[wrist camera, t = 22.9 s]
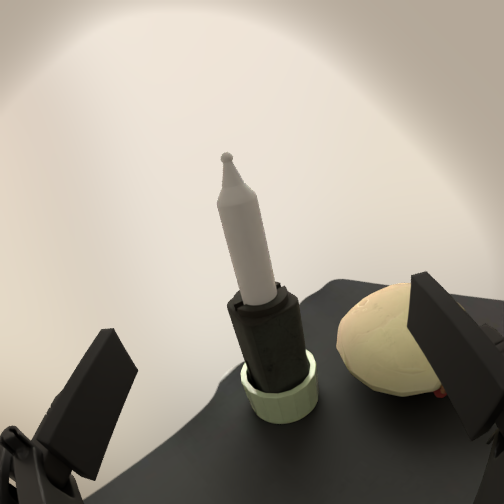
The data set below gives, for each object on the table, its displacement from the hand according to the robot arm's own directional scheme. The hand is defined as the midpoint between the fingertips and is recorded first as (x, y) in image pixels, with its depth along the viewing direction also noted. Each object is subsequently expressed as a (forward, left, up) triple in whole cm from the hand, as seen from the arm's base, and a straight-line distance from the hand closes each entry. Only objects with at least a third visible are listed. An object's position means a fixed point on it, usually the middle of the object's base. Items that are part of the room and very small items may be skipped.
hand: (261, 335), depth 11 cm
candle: (-1, -11, -18) cm, 21 cm away
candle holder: (-1, -11, -19) cm, 22 cm away
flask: (-15, -8, -19) cm, 26 cm away
